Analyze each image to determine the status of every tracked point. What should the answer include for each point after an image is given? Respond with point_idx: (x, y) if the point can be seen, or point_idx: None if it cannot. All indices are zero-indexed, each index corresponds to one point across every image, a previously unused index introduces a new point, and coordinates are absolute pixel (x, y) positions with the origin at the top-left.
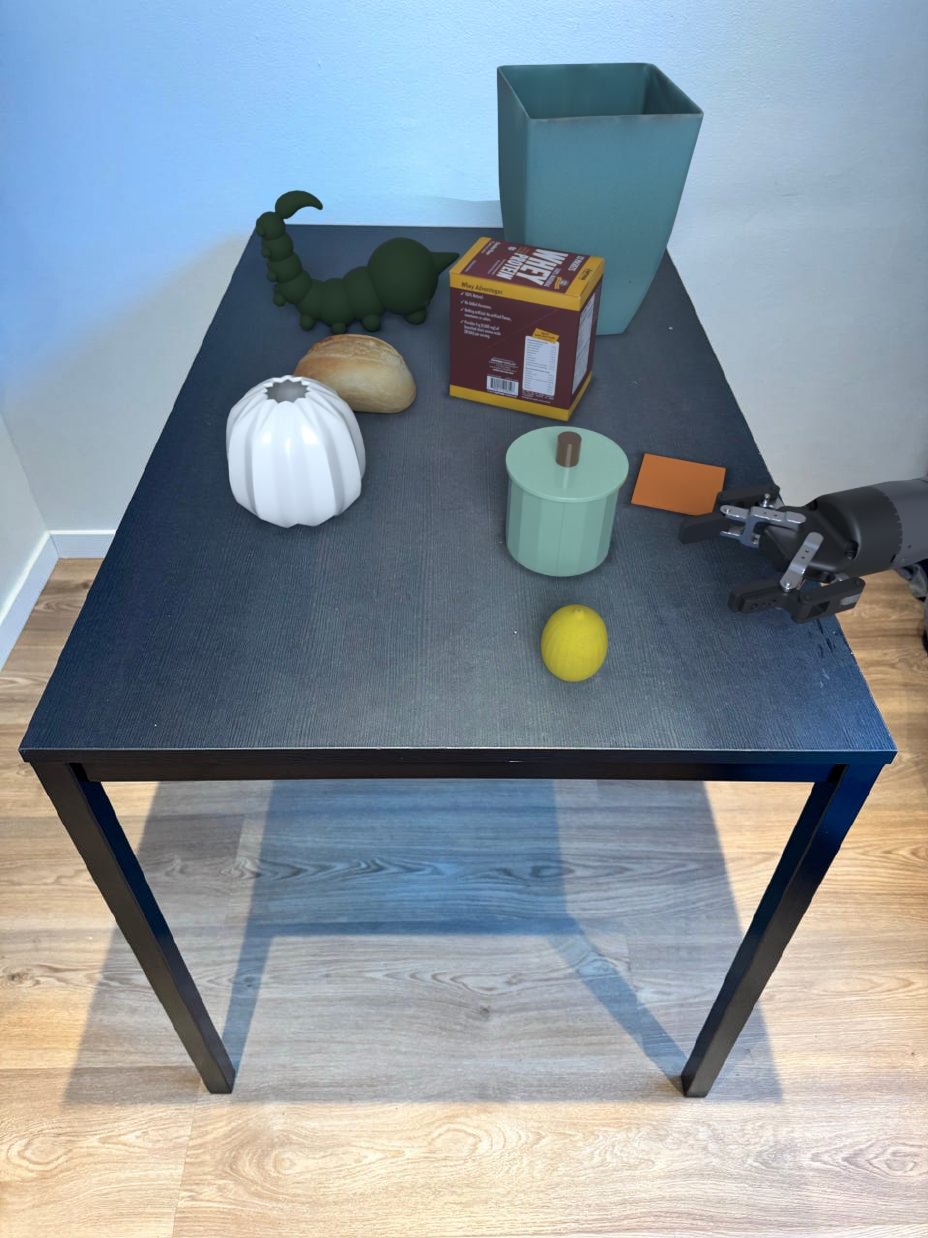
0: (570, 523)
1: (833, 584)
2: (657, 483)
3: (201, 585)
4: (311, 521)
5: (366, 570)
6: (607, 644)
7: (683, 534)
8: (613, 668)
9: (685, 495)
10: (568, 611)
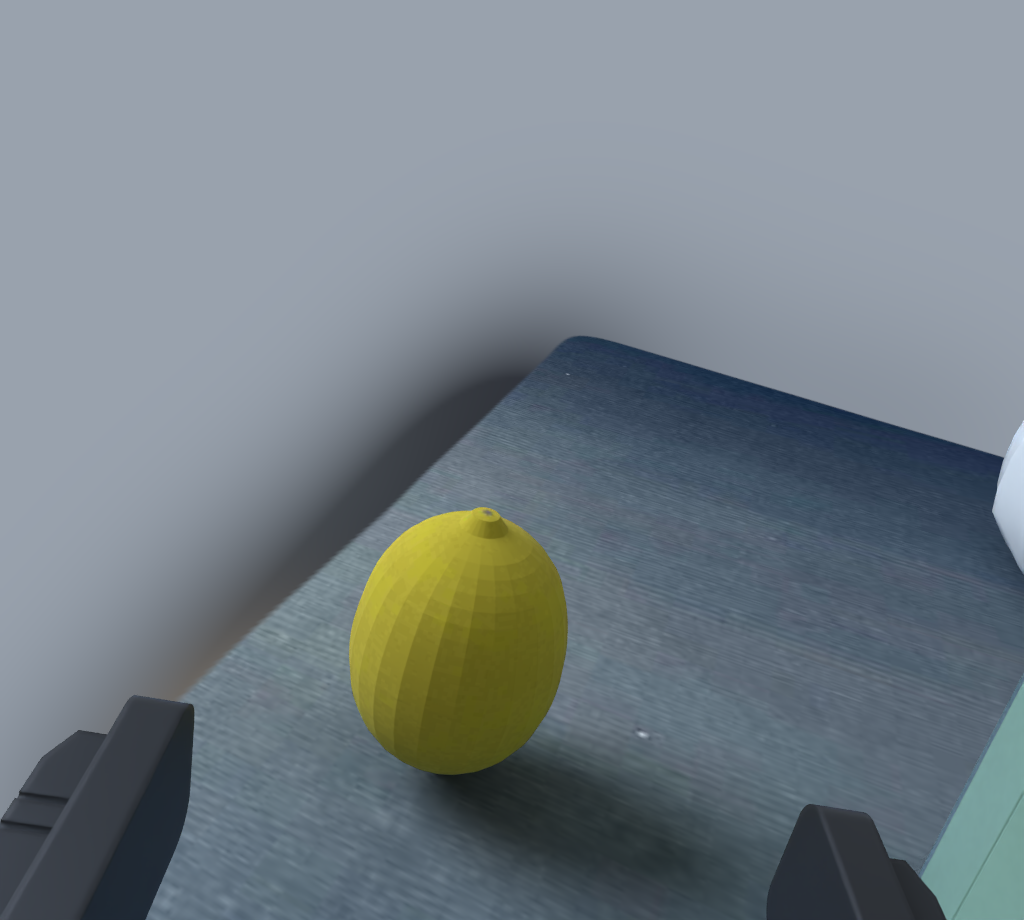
0: (1004, 757)
1: None
2: None
3: (842, 458)
4: (1015, 541)
5: (893, 602)
6: (396, 668)
7: (788, 843)
8: (402, 880)
9: None
10: (507, 521)
